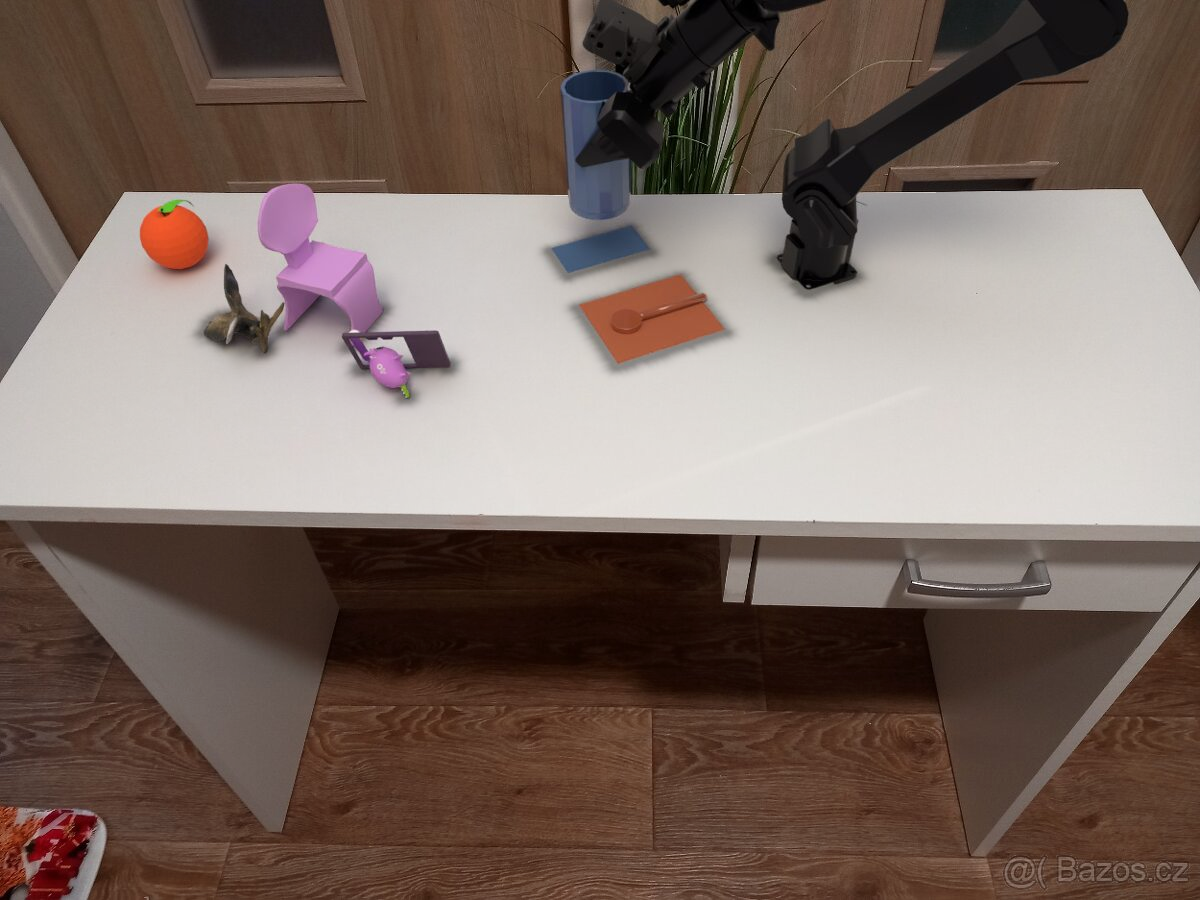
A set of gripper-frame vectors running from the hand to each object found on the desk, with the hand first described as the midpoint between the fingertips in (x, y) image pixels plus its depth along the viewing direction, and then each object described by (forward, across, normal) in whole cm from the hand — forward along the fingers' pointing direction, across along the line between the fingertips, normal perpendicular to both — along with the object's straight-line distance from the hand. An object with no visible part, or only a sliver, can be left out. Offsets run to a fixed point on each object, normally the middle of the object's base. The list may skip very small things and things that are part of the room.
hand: (584, 145), depth 92 cm
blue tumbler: (+4, 0, +6) cm, 7 cm away
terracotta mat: (+3, +11, +15) cm, 19 cm away
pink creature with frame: (+20, +23, -1) cm, 31 cm away
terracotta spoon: (+2, +10, +15) cm, 19 cm away
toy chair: (+27, +16, -8) cm, 32 cm away
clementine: (+41, +8, -23) cm, 48 cm away
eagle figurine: (+33, +19, -14) cm, 40 cm away
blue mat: (+8, 0, +10) cm, 13 cm away
